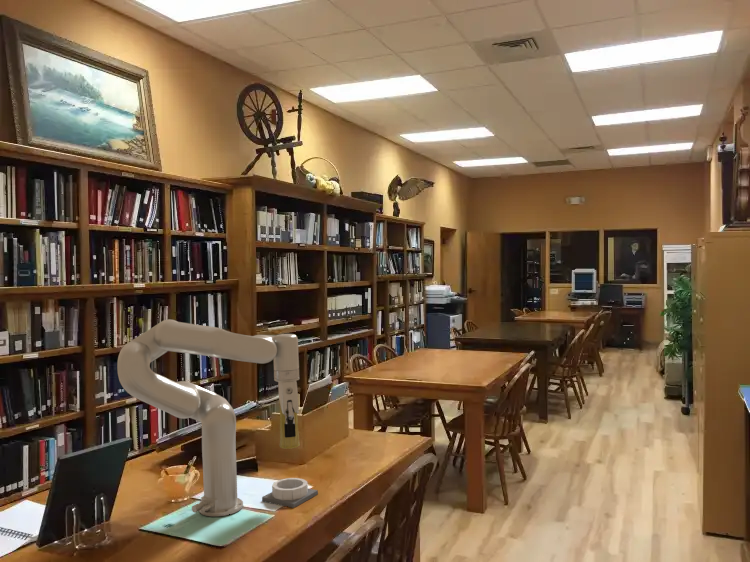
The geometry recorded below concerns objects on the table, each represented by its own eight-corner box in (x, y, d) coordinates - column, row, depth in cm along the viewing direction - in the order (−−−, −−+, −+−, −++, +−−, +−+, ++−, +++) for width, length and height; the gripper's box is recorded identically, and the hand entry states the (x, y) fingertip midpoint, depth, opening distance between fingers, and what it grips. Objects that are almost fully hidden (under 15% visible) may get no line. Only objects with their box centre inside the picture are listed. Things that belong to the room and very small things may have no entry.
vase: (289, 450, 185) (287, 402, 185) (275, 446, 189) (273, 400, 188) (303, 444, 190) (302, 398, 190) (289, 441, 194) (288, 396, 193)
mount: (293, 507, 182) (293, 493, 181) (262, 501, 188) (261, 487, 187) (317, 494, 192) (317, 480, 192) (287, 488, 198) (286, 475, 198)
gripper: (303, 378, 181) (305, 440, 182) (295, 369, 198) (297, 426, 199) (277, 380, 180) (279, 443, 180) (271, 371, 196) (273, 428, 197)
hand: (288, 433), depth 189 cm, fingers closed on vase, 5 cm apart
